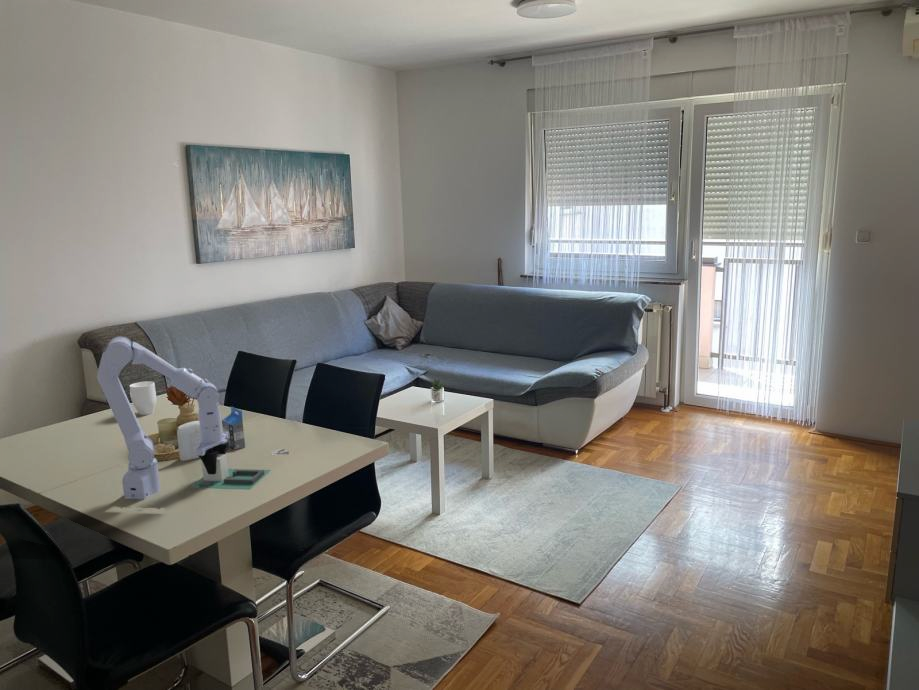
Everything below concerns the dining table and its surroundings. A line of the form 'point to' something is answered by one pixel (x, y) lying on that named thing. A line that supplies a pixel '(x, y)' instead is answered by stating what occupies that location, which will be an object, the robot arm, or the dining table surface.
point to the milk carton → (234, 429)
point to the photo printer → (189, 440)
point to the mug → (143, 397)
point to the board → (234, 479)
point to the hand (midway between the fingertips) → (215, 470)
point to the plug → (217, 469)
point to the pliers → (279, 452)
